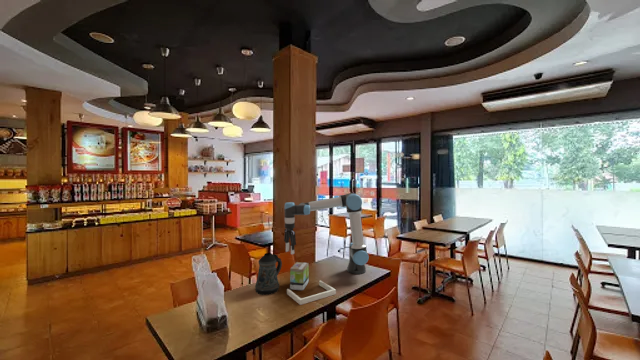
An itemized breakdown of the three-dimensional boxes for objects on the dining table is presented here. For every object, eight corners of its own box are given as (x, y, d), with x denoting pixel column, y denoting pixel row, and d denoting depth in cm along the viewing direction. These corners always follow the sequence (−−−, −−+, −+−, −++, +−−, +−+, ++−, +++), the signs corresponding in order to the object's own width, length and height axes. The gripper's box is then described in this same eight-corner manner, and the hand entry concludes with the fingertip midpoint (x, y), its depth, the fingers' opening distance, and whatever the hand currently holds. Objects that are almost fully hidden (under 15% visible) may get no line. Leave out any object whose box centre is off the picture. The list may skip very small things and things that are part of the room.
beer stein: (250, 293, 181) (249, 256, 180) (264, 282, 199) (263, 249, 199) (273, 296, 176) (272, 258, 176) (284, 284, 195) (284, 250, 194)
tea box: (303, 290, 185) (303, 269, 185) (289, 289, 187) (289, 268, 187) (309, 282, 200) (308, 262, 199) (296, 281, 202) (295, 261, 201)
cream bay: (320, 284, 195) (320, 280, 195) (336, 294, 179) (335, 289, 179) (286, 293, 180) (286, 289, 180) (300, 305, 165) (300, 300, 165)
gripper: (279, 221, 212) (279, 250, 212) (291, 225, 194) (291, 256, 195) (288, 220, 216) (288, 248, 216) (300, 224, 198) (300, 255, 199)
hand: (290, 252), depth 206 cm, fingers open, 8 cm apart
